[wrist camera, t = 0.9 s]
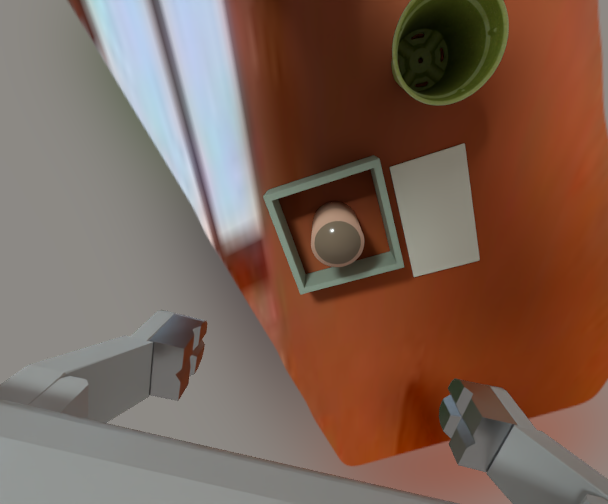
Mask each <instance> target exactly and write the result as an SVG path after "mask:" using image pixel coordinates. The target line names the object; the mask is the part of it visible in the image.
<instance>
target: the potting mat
mask: <svg viewBox="0 0 608 504" xmlns="http://www.w3.org/2000/svg"><path fill="white" fill-rule="evenodd" d="M389 168H390V172H391V177H392V181H393V186H394V190H395V195H396V199H397V204H398V208H399V213H400V217H401V222H402V226H403V231H404V236H405V240H406V245H407V249H408V254H409V258H410V263H411V267H412V272H413V276H414V277H417V276H421V275H425V274H428V273H432V272H436V271H440V270H444V269H448V268H452V267H456V266H460V265H464V264H468V263H472V262H476V261H480V257H479V250H478V242H477V234H476V226H475V219H474V211H473V203H472V195H471V187H470V180H469V172H468V164H467V156H466V149H465V143H463V144H460V145H457V146H454V147H451V148H448V149H445V150H442V151H438V152H435V153H432V154H429V155H426V156H423V157H420V158H416V159H413V160H410V161H407V162H404V163H401V164H398V165H395V166H391V167H389Z"/></svg>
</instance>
